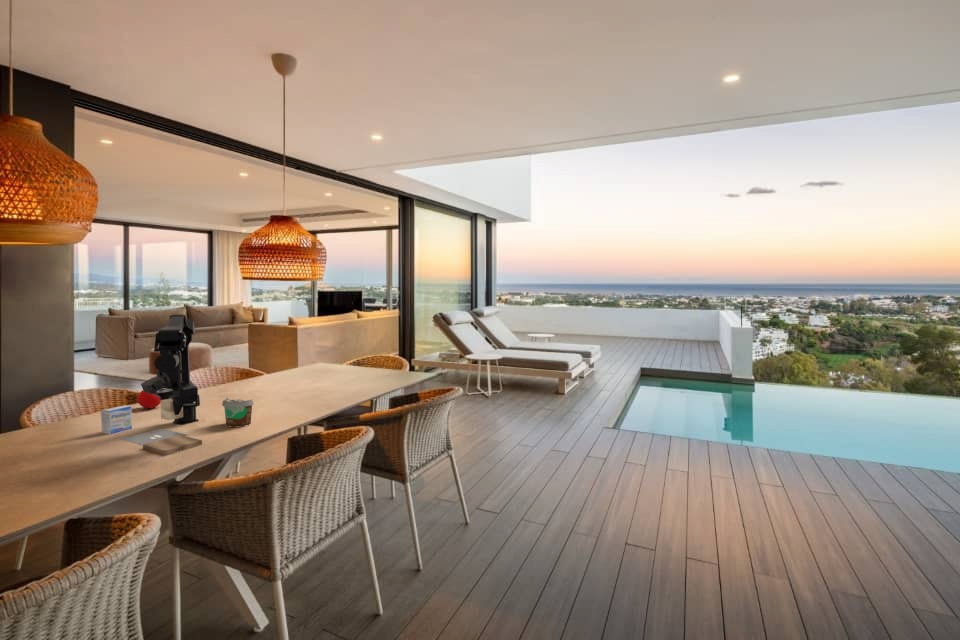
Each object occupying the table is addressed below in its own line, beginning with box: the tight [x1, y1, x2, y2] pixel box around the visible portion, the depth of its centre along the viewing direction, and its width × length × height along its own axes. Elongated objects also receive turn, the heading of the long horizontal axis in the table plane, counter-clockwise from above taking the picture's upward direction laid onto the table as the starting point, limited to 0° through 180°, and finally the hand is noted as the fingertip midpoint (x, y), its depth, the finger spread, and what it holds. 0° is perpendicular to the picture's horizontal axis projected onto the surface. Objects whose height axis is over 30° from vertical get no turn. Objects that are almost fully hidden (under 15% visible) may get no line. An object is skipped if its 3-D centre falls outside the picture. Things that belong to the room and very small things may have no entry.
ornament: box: [137, 389, 161, 409], centre depth 207 cm, size 9×9×10 cm
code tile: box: [120, 428, 189, 446], centre depth 169 cm, size 14×16×1 cm
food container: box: [221, 396, 255, 428], centre depth 185 cm, size 12×6×10 cm, turn 76°
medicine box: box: [100, 404, 133, 435], centre depth 175 cm, size 8×4×9 cm, turn 161°
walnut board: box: [142, 435, 203, 456], centre depth 160 cm, size 12×12×2 cm
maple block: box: [160, 398, 183, 421], centre depth 159 cm, size 4×4×6 cm
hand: (172, 413), depth 159 cm, fingers closed on maple block, 4 cm apart
